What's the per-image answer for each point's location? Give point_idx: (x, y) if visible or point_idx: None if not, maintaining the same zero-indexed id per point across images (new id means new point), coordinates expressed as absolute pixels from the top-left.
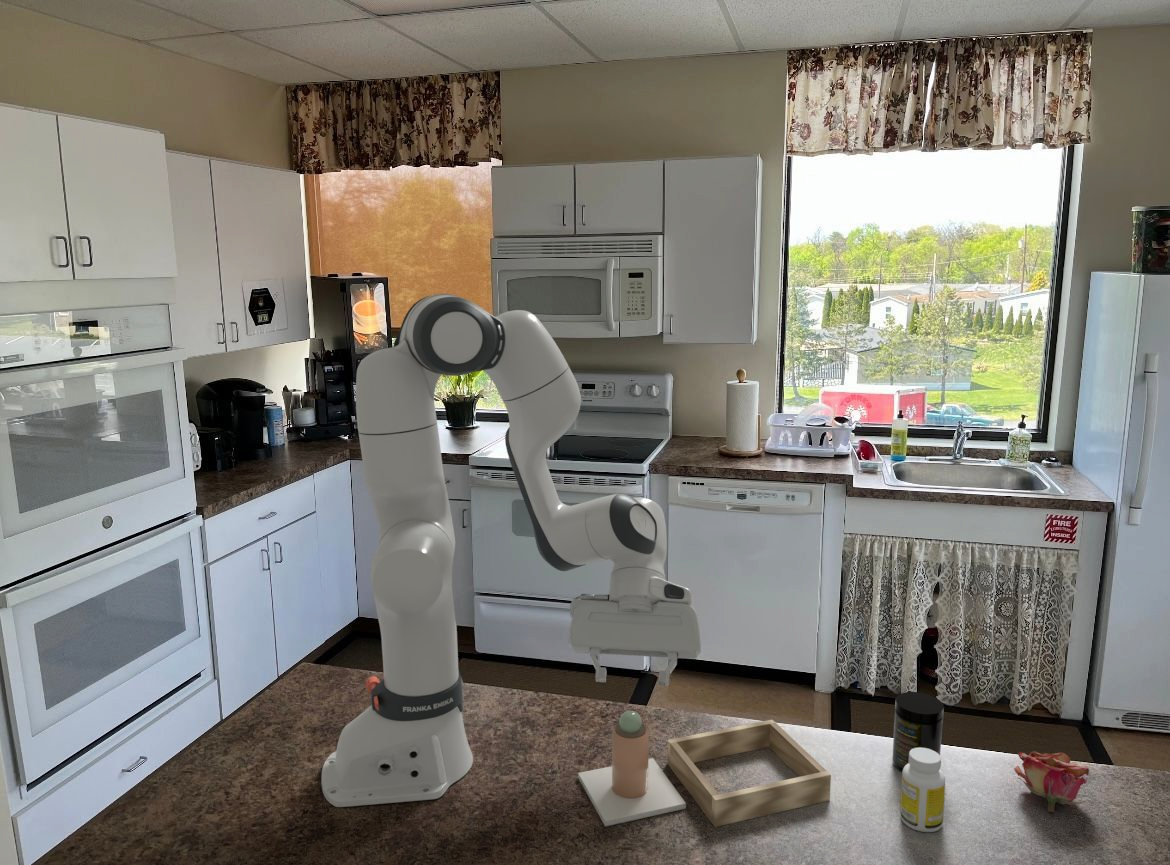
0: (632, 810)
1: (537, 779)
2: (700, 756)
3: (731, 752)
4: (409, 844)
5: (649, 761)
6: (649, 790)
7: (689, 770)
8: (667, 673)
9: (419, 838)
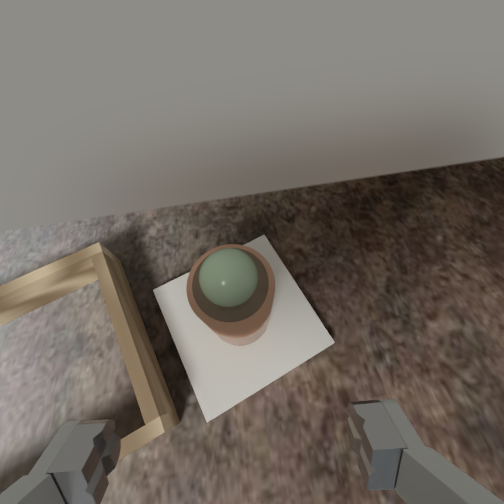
0: None
1: (396, 327)
2: None
3: None
4: (476, 176)
5: (213, 407)
6: None
7: (130, 326)
8: (45, 457)
9: (473, 185)
